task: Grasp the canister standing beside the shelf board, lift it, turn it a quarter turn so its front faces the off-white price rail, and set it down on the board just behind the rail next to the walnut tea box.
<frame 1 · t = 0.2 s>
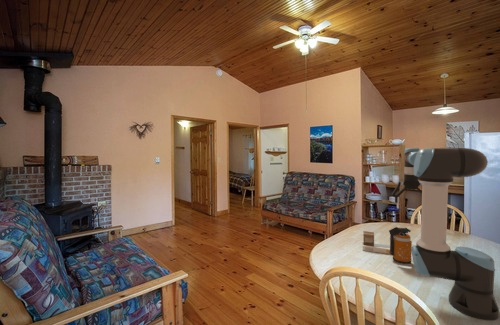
hand: (410, 209, 148), 28 cm above the table, fingers open, 13 cm apart
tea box: (368, 246, 158), point 1 cm above the table, touching shelf board
shelf board: (383, 250, 155), on the table
canister: (399, 262, 139), on the table
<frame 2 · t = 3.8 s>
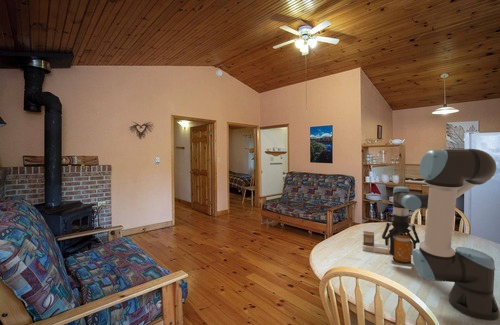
hand: (399, 252, 139), 6 cm above the table, fingers closed on canister, 11 cm apart
canister: (399, 262, 139), on the table, touching gripper
everything else where it was.
when the fingers open (8 cm above the table, at t = 10.7 s): canister drops 1 cm, resting on shelf board.
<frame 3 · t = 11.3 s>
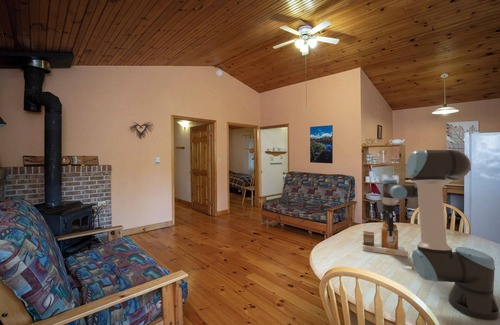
hand: (389, 237, 154), 9 cm above the table, fingers open, 13 cm apart
canister: (388, 249, 154), point 1 cm above the table, touching shelf board
everything else where it was.
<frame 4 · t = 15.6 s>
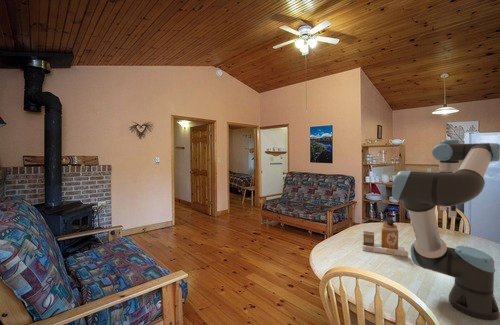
hand: (447, 213, 122), 32 cm above the table, fingers open, 13 cm apart
nothing on the table moved.
at the end: canister inside the target area on the shelf board (0.8 cm from its centre), point 1.0 cm above the shelf board's base; canister tilted 0°; the gripper is holding nothing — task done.
